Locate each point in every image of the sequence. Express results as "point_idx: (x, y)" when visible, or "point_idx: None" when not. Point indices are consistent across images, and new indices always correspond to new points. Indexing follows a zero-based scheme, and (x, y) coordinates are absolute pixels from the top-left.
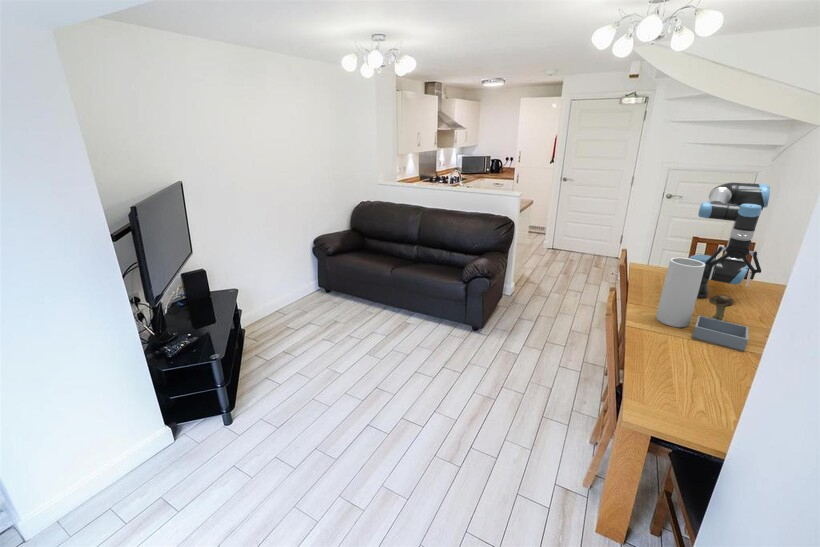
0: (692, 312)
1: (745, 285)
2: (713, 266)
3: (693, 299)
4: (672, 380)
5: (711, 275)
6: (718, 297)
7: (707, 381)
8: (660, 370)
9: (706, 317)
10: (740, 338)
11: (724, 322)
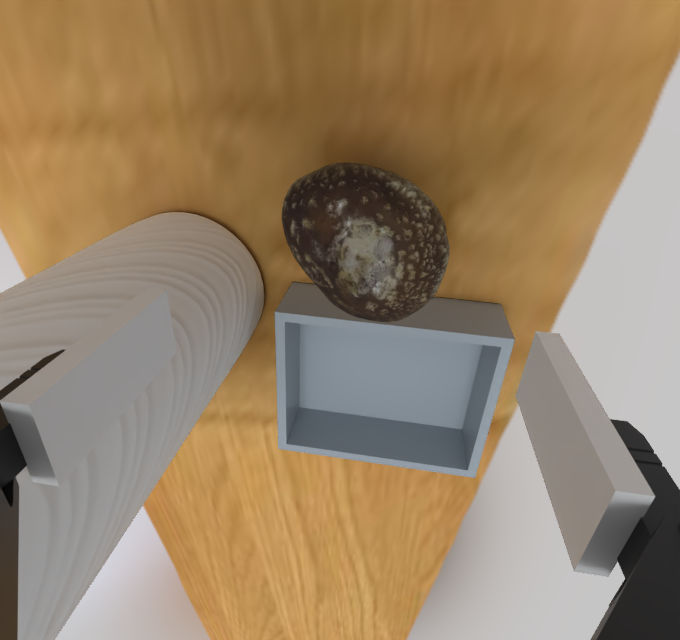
0: (239, 347)
1: (522, 379)
2: (35, 461)
3: (191, 429)
4: (280, 619)
5: (141, 387)
6: (330, 272)
7: (348, 604)
8: (250, 597)
9: (314, 321)
10: (447, 471)
11: (400, 333)
